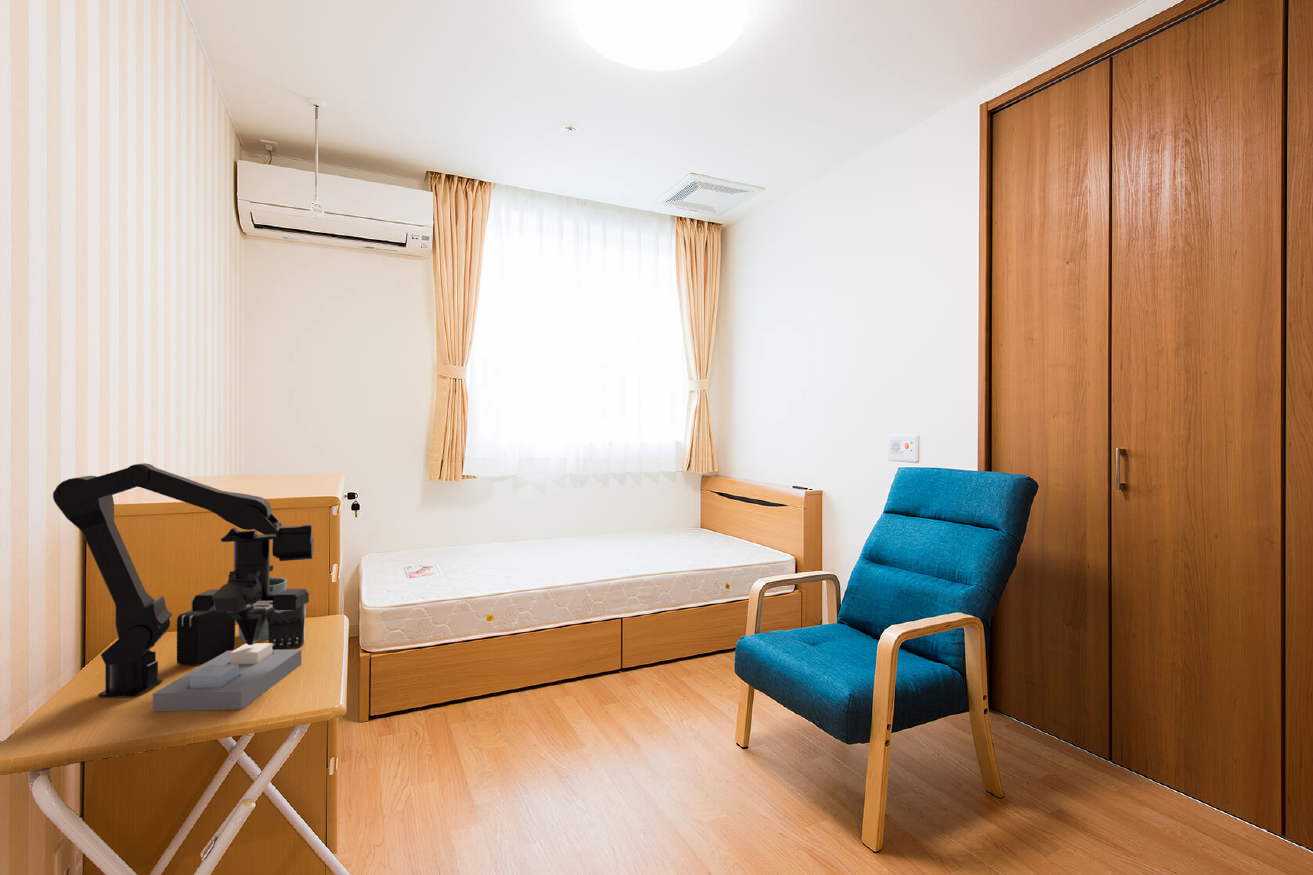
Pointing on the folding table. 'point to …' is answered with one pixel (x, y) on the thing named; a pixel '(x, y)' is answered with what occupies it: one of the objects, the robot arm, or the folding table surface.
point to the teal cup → (278, 587)
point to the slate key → (214, 676)
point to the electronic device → (203, 636)
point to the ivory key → (251, 653)
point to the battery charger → (286, 628)
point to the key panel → (233, 694)
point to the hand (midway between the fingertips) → (251, 644)
